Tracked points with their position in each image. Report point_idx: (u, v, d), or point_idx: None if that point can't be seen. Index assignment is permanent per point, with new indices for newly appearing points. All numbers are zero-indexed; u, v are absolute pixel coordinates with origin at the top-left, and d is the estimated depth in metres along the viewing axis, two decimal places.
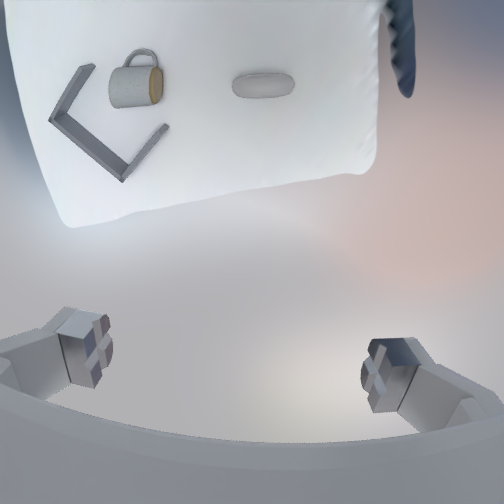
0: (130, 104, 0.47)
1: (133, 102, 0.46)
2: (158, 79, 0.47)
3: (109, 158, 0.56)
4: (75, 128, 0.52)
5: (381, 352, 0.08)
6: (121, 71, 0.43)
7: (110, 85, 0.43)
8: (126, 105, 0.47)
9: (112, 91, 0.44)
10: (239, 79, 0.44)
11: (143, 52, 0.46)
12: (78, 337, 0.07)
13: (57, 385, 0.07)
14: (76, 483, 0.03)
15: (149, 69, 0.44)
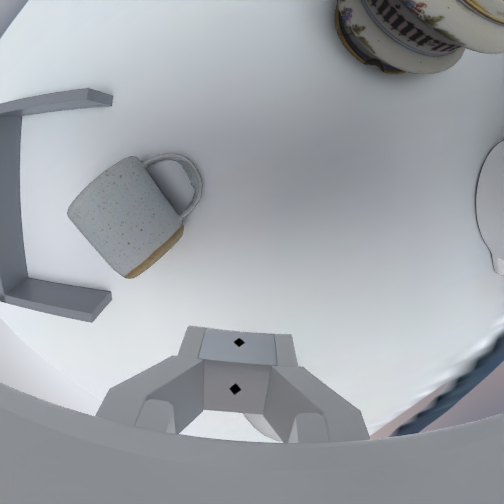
0: (91, 244, 0.24)
1: (98, 250, 0.23)
2: None
3: (10, 249, 0.28)
4: (6, 158, 0.25)
5: None
6: (131, 180, 0.22)
7: (93, 187, 0.21)
8: (85, 237, 0.24)
9: (85, 201, 0.21)
10: None
11: (191, 173, 0.27)
12: (231, 361, 0.07)
13: (192, 415, 0.07)
14: (76, 483, 0.03)
15: (170, 228, 0.24)
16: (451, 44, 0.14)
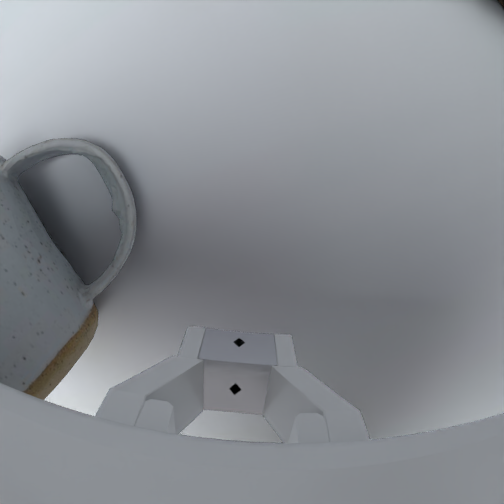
0: None
1: None
2: None
3: None
4: None
5: None
6: None
7: None
8: None
9: None
10: None
11: (111, 185, 0.10)
12: (231, 361, 0.07)
13: (192, 414, 0.07)
14: (76, 483, 0.03)
15: (44, 345, 0.07)
16: None
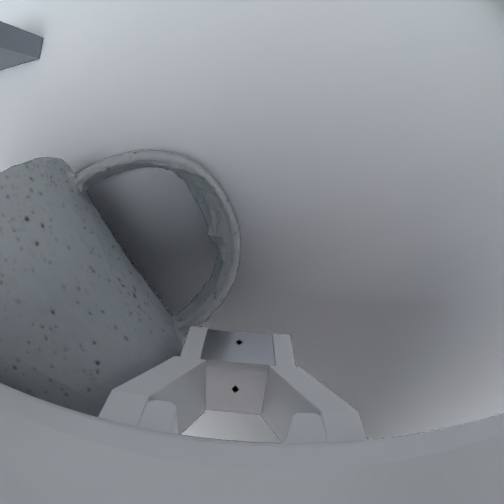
0: None
1: None
2: None
3: None
4: None
5: None
6: (18, 247, 0.06)
7: None
8: None
9: None
10: None
11: (210, 208, 0.10)
12: (233, 361, 0.07)
13: (194, 415, 0.07)
14: (76, 483, 0.03)
15: None
16: None
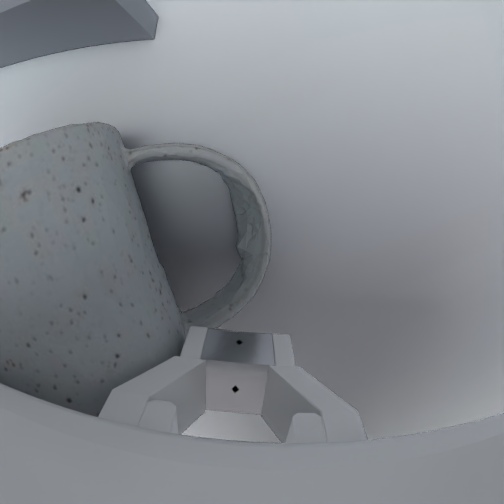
0: None
1: None
2: None
3: None
4: None
5: None
6: (63, 219, 0.05)
7: None
8: None
9: None
10: None
11: (248, 222, 0.10)
12: (233, 361, 0.07)
13: (194, 415, 0.07)
14: (76, 483, 0.03)
15: None
16: None
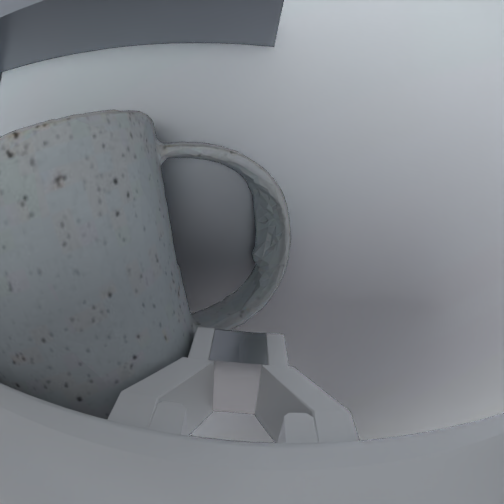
0: None
1: None
2: None
3: None
4: None
5: None
6: (98, 211, 0.05)
7: None
8: None
9: None
10: None
11: (268, 232, 0.10)
12: (241, 362, 0.07)
13: (202, 416, 0.07)
14: (76, 483, 0.03)
15: None
16: None
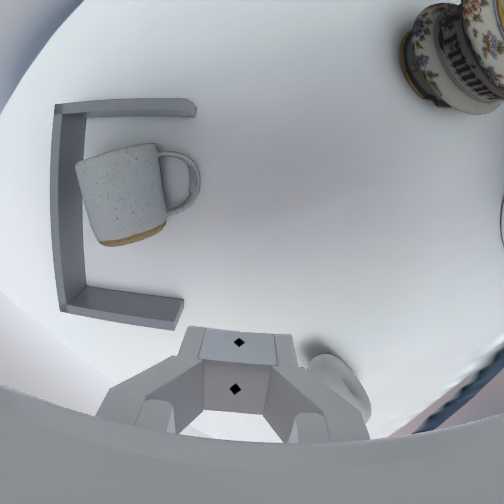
0: (84, 201, 0.25)
1: (88, 209, 0.25)
2: None
3: (72, 257, 0.30)
4: (72, 161, 0.27)
5: None
6: (144, 166, 0.24)
7: (109, 157, 0.22)
8: (81, 192, 0.25)
9: (97, 165, 0.22)
10: (336, 380, 0.29)
11: (193, 180, 0.29)
12: (231, 361, 0.07)
13: (192, 415, 0.07)
14: (76, 483, 0.03)
15: (156, 221, 0.26)
16: None
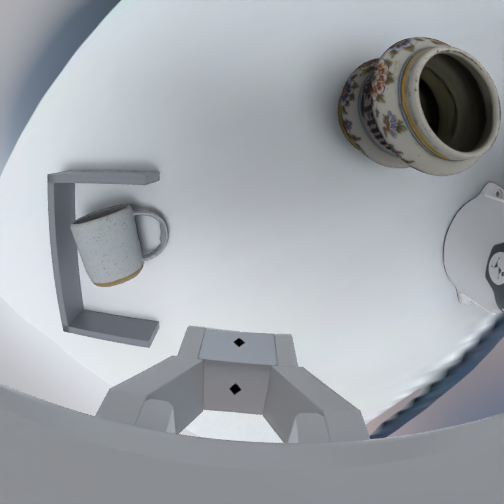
0: (79, 252, 0.33)
1: (82, 259, 0.33)
2: None
3: (71, 289, 0.38)
4: (66, 217, 0.35)
5: None
6: (121, 228, 0.32)
7: (94, 224, 0.30)
8: (77, 245, 0.33)
9: (86, 230, 0.30)
10: None
11: (162, 232, 0.37)
12: (230, 361, 0.07)
13: (192, 414, 0.07)
14: (76, 483, 0.03)
15: (133, 268, 0.34)
16: None
